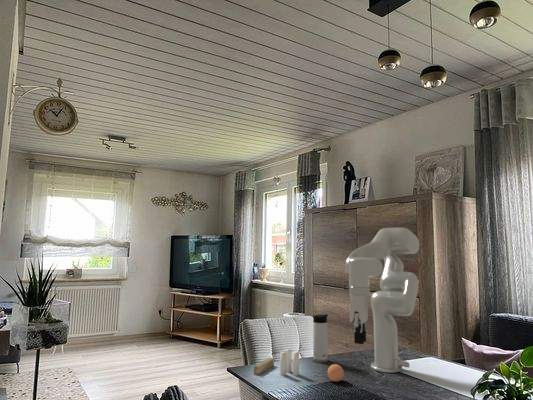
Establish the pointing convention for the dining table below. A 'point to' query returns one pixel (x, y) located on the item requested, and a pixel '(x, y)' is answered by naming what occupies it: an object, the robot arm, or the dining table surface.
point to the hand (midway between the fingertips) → (360, 341)
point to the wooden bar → (263, 366)
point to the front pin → (296, 363)
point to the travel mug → (320, 338)
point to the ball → (335, 372)
